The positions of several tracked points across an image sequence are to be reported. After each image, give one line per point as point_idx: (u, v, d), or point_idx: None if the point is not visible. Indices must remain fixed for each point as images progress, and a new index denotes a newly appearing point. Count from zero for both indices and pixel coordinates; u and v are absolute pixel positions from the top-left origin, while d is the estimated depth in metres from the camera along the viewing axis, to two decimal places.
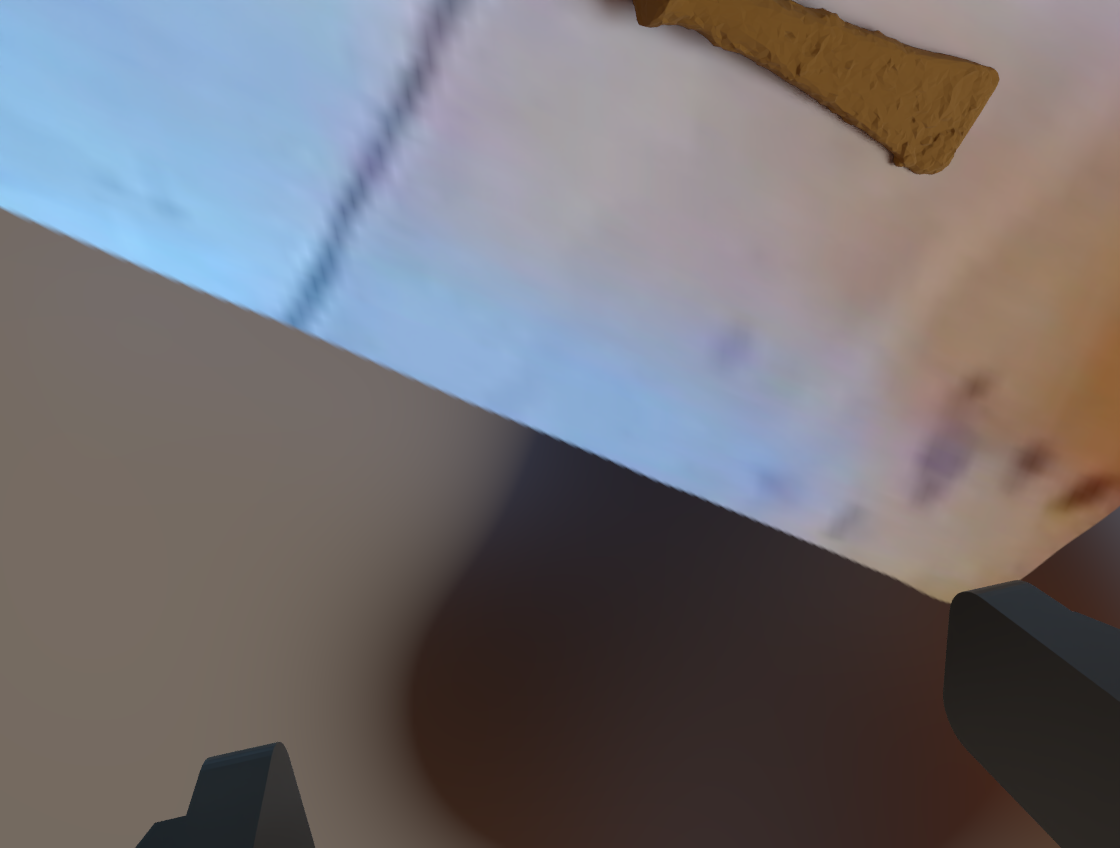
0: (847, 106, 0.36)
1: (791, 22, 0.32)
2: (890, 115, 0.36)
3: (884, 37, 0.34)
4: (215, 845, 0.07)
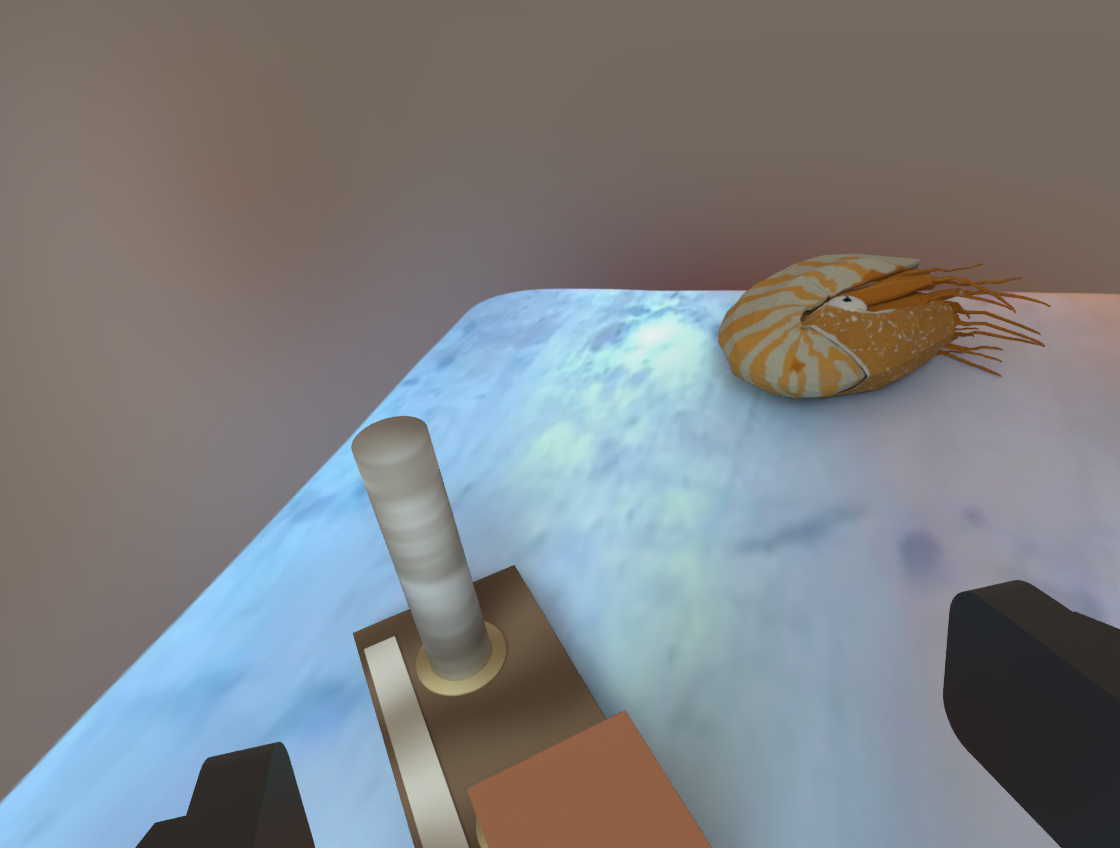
0: None
1: None
2: None
3: None
4: (215, 845, 0.07)
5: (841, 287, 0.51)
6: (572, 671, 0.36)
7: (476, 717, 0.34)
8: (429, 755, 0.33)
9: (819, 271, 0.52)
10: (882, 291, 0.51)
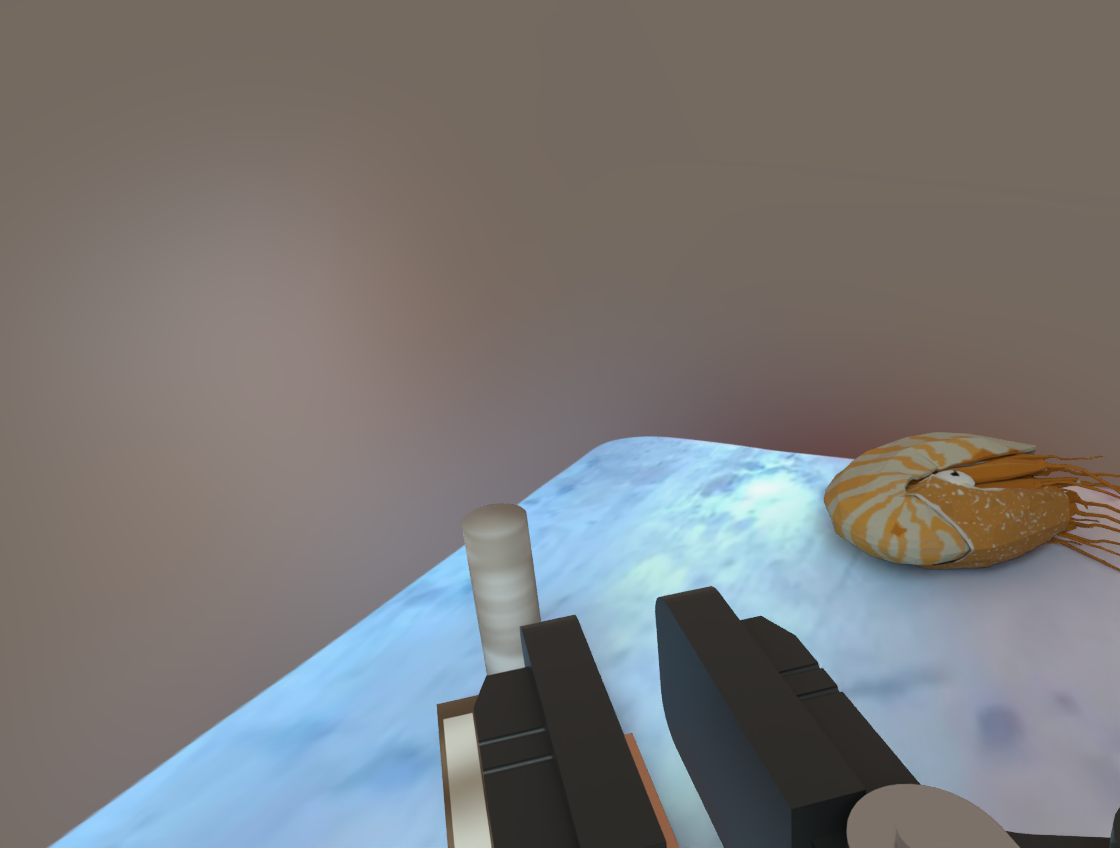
0: None
1: None
2: None
3: None
4: (569, 679, 0.08)
5: (950, 462, 0.53)
6: None
7: None
8: (481, 821, 0.36)
9: (929, 445, 0.54)
10: (993, 470, 0.52)
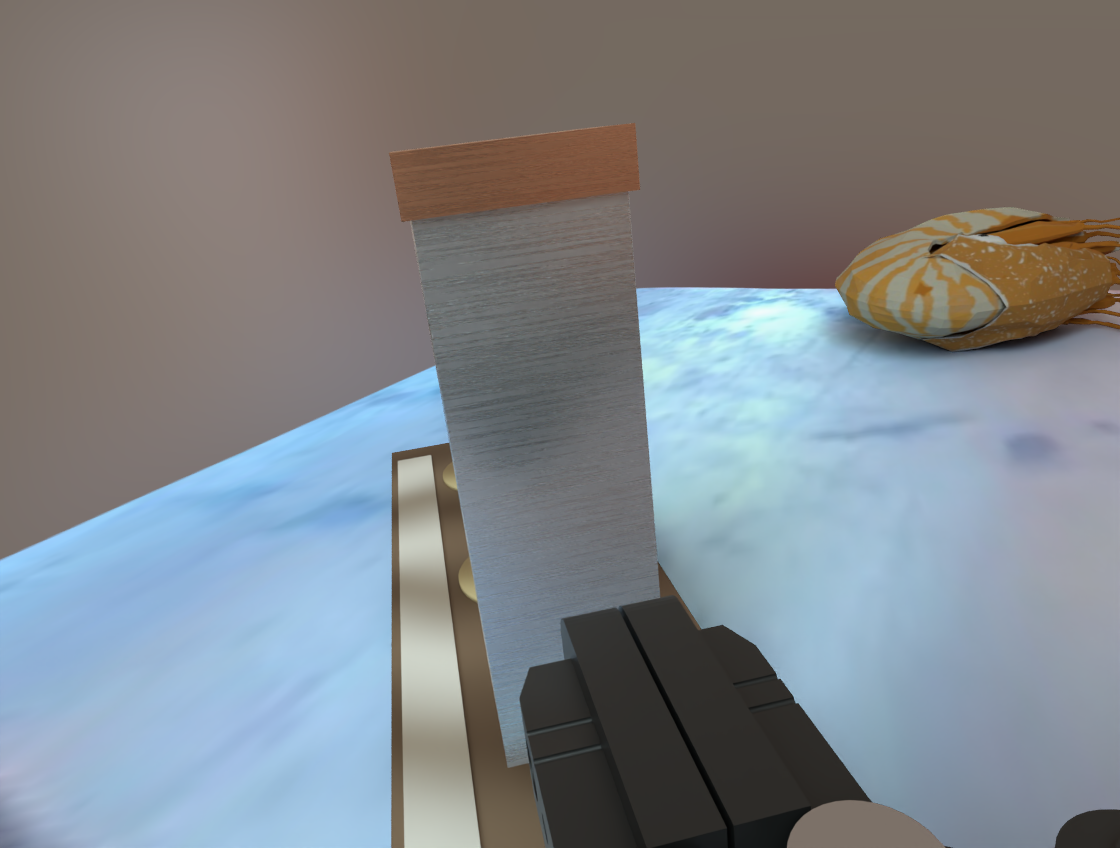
0: None
1: None
2: None
3: None
4: (616, 669, 0.08)
5: (977, 229, 0.47)
6: None
7: None
8: (432, 524, 0.31)
9: (952, 216, 0.49)
10: (1024, 234, 0.47)
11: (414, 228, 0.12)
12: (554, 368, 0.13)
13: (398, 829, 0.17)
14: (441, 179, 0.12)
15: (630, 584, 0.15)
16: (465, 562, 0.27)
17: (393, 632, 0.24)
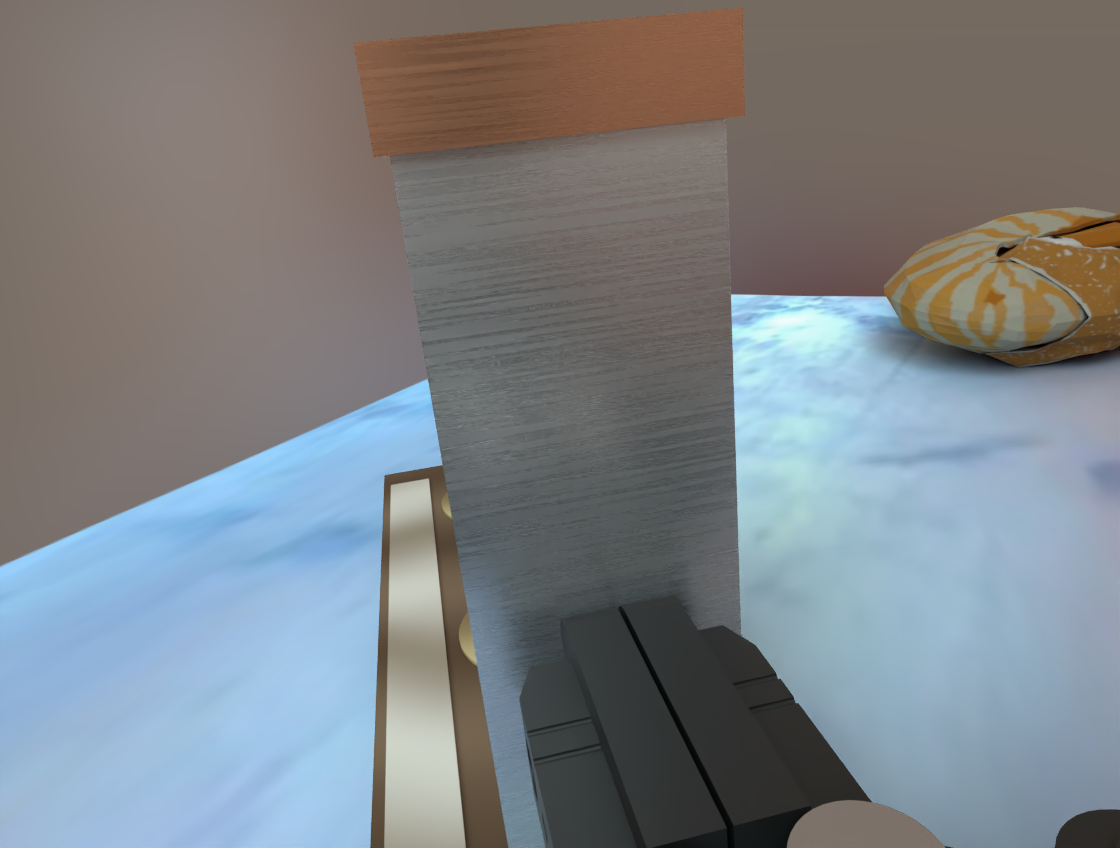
0: None
1: None
2: None
3: None
4: (615, 669, 0.08)
5: (1045, 230, 0.42)
6: None
7: None
8: (429, 564, 0.26)
9: (1015, 216, 0.44)
10: (1099, 236, 0.42)
11: (395, 170, 0.08)
12: (605, 388, 0.09)
13: None
14: (437, 88, 0.07)
15: None
16: (467, 615, 0.23)
17: (378, 708, 0.20)
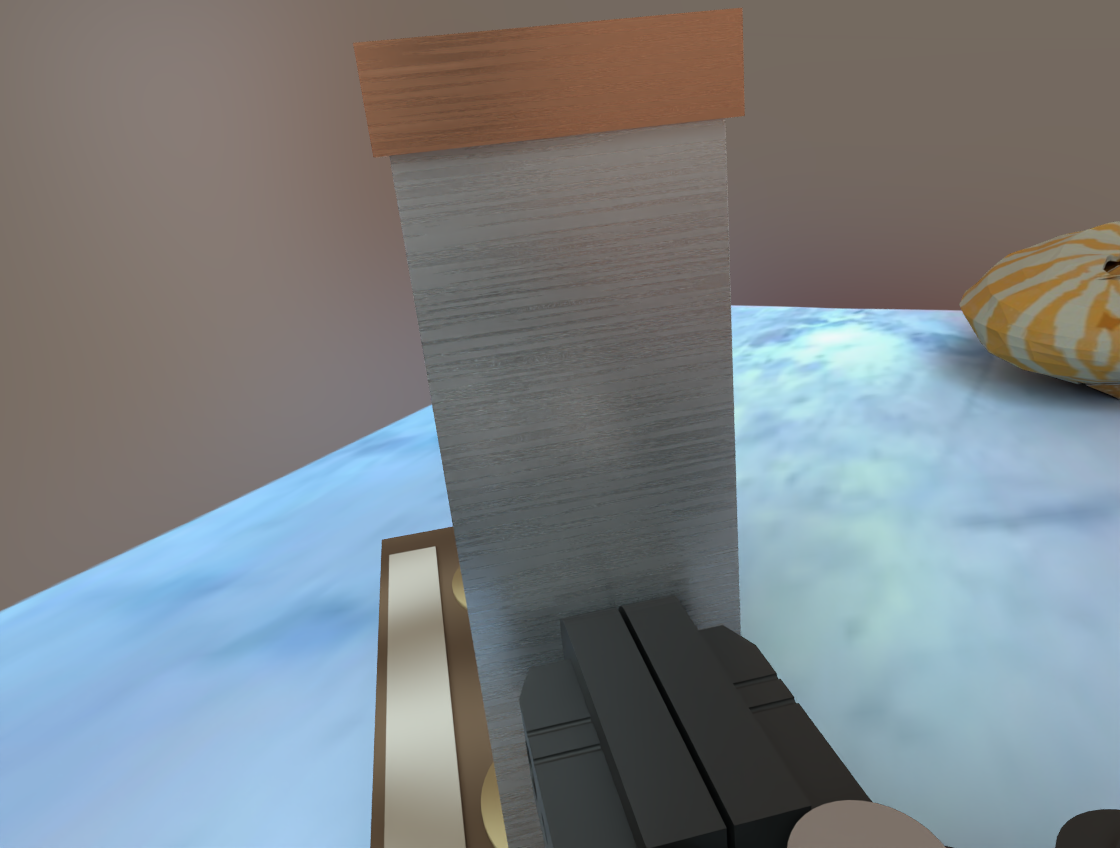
0: None
1: None
2: None
3: None
4: (615, 670, 0.08)
5: None
6: None
7: None
8: (438, 680, 0.20)
9: (1116, 224, 0.38)
10: None
11: (394, 170, 0.08)
12: (604, 389, 0.09)
13: None
14: (437, 88, 0.07)
15: None
16: (491, 770, 0.17)
17: None
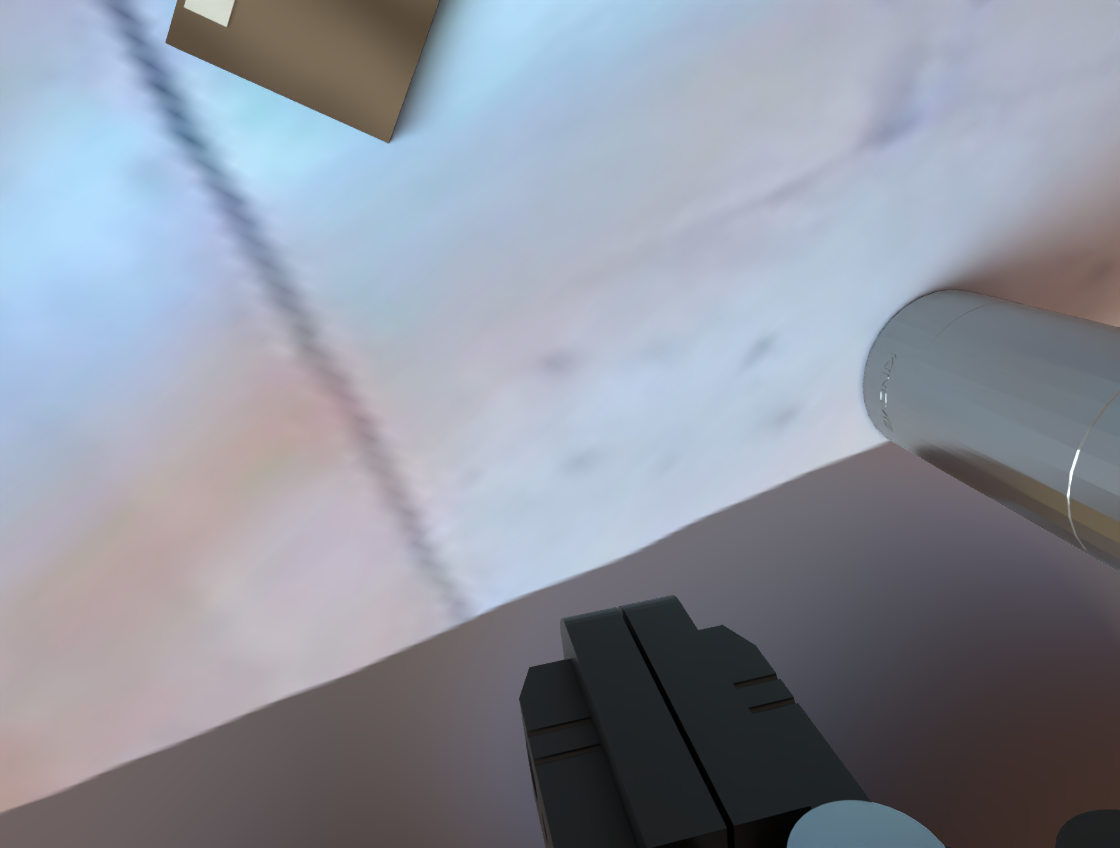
0: None
1: None
2: None
3: None
4: (615, 670, 0.08)
5: None
6: None
7: None
8: None
9: None
10: None
11: None
12: None
13: None
14: None
15: None
16: None
17: None
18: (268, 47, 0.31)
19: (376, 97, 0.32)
